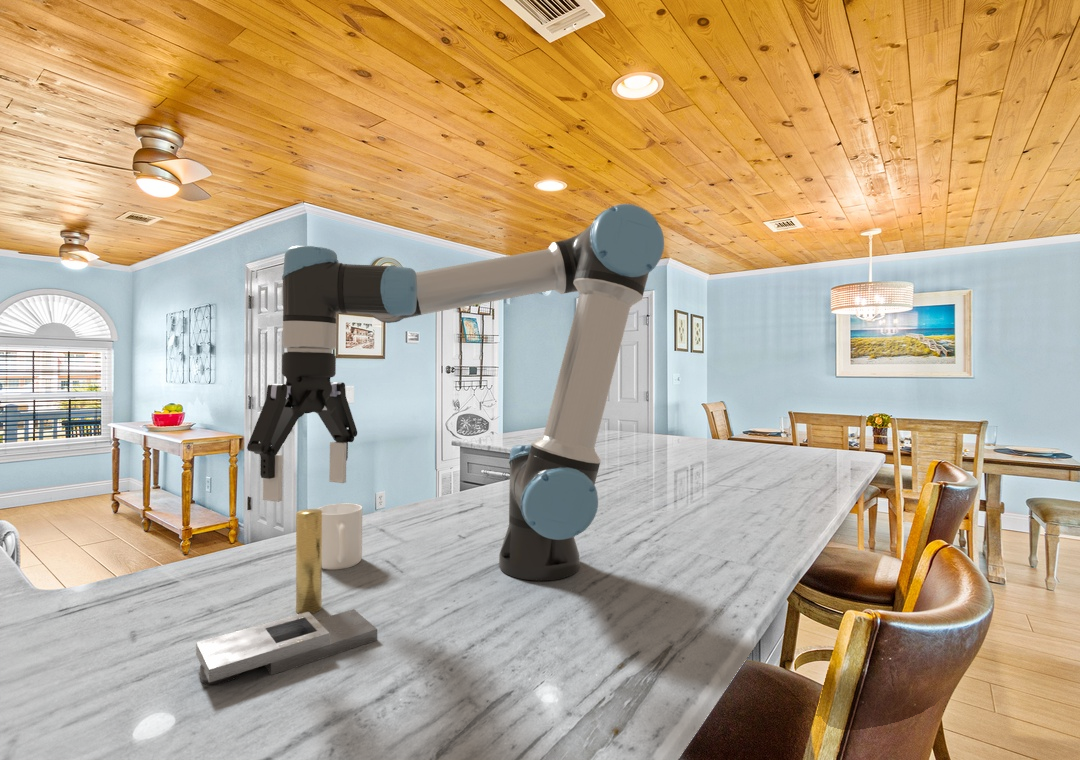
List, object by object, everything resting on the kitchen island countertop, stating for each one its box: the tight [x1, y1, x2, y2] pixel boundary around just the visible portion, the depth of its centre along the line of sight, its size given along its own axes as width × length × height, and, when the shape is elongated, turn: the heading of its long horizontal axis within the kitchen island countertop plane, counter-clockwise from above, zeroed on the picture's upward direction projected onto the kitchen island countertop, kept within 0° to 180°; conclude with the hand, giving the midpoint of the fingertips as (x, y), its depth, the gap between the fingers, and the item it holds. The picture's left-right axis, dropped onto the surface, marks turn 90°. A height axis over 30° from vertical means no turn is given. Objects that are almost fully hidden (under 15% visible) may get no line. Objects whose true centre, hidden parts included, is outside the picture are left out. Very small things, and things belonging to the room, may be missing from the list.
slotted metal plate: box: [195, 608, 378, 686], centre depth 72 cm, size 20×8×3 cm, turn 131°
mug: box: [317, 502, 363, 571], centre depth 103 cm, size 12×8×10 cm
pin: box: [295, 508, 323, 615], centre depth 84 cm, size 4×4×15 cm
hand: (307, 490), depth 84 cm, fingers open, 13 cm apart
